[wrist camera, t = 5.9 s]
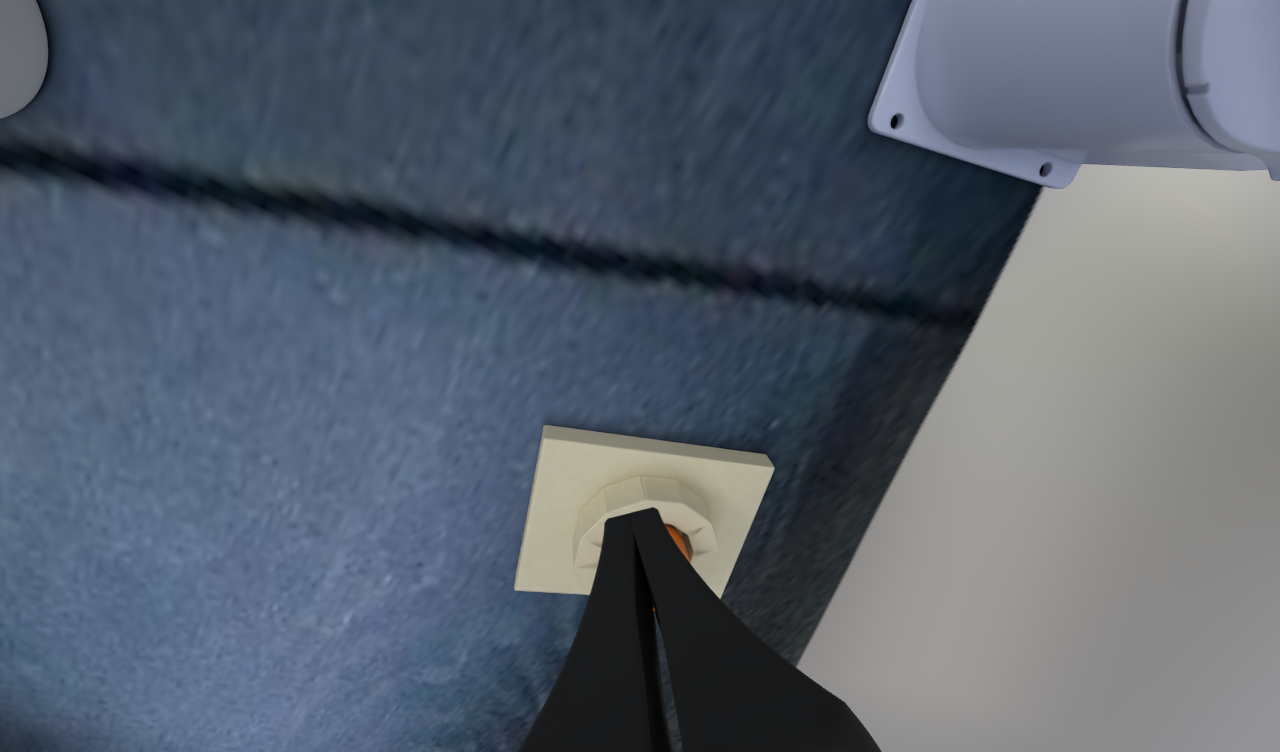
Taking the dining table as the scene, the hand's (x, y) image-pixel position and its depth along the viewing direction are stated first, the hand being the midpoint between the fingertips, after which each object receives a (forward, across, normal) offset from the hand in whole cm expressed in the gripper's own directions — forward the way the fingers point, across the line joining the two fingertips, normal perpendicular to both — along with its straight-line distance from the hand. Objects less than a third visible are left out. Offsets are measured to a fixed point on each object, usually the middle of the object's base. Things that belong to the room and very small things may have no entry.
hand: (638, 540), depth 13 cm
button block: (+10, 0, +8) cm, 12 cm away
